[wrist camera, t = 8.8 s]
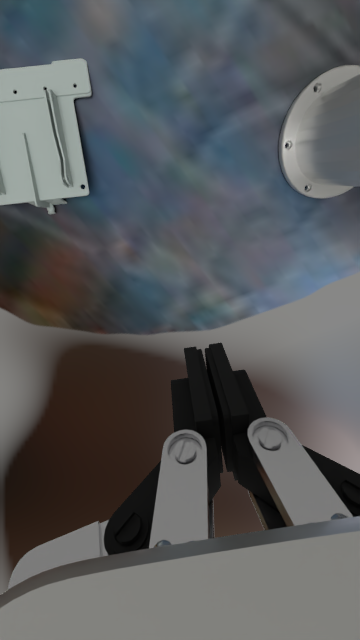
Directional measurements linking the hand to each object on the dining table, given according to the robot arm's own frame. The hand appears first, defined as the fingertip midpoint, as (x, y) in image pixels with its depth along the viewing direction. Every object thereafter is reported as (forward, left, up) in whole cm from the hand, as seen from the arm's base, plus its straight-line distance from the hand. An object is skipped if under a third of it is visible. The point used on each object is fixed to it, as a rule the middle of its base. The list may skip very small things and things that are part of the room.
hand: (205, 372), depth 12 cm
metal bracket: (+14, -13, -28) cm, 34 cm away
